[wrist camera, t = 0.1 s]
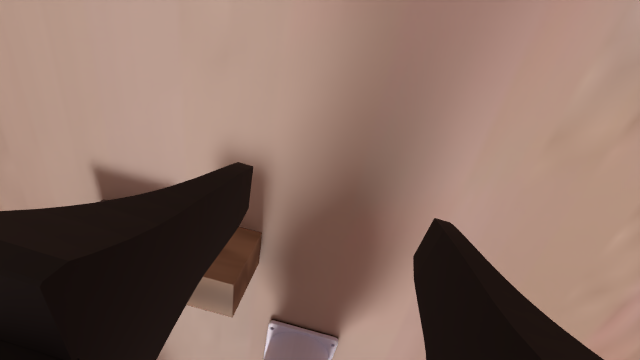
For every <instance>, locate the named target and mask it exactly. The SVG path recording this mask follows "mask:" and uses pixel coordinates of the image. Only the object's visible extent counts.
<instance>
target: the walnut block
mask: <svg viewBox="0 0 640 360" xmlns="http://www.w3.org/2000/svg"><path fill="white" fill-rule="evenodd" d="M261 235H262V233H260V232H256V231H252V230H248V229H245V228H241V227H238V229H237V230H236V232H235V233H234V234H233V236H232V237H231V239H230V240H229V241H228V243H227V244H226V245H225V247H224V248H223V250H222V251H221V252H220V254H219V255H218V256H217V258H216V259H215V261H214V262H213V263H212V265H211V266H210V267H209V269H208V270H207V272H206V273H205V274H204V276H203V278H202V279H201V281H200V282H199V284H198V285H197V287H196V289H195V290H194V292H193V294H192V296H191V297H190V299H189V301H188V302H187V304H186V305H189V306H192V307H196V308H200V309H203V310H207V311H210V312H214V313H218V314H221V315H225V316H228V317H233V315H234V313H235V311H236V309H237V307H238V305H239V303H240V301H241V299H242V297H243V295H244V292H245V290H246V288H247V286H248V284H249V282H250V280H251V278H252V276H253V274H254V272H255V270H256V268H257V266H258V264H259V255H260V245H261Z"/></svg>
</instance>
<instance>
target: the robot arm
mask: <svg viewBox="0 0 640 360" xmlns="http://www.w3.org/2000/svg"><path fill="white" fill-rule="evenodd" d="M252 173H253V166H250V165H246V164H243V163H239V162H238V163H234V164H231V165H229V166H226V167H223V168H221V169H218V170H216V171H213V172H210V173H208V174H205V175H203V176H200V177H197V178H194V179H191V180H188V181H185V182H182V183H179V184H176V185H173V186H170V187H167V188H163V189H160V190H156V191H152V192H148V193H144V194H139V195H135V196H130V197H125V198H119V199H113V200H108V201H102V202H96V203H89V204H82V205H74V206H65V207H55V208H44V209H31V210H13V211H0V360H156V359H157V357H158V355H159V354H160V352H161V350H162V348H163V346H164V344H165V342H166V340H167V338H168V337H169V335H170V333H171V331H172V329H173V327H174V326H175V324H176V322H177V320H178V318H179V317H180V315H181V313H182V311H183V309H184V308H185V306H186V304H187V302H188V301H189V299H190V297H191V296H192V294H193V292H194V290H195V289H196V287H197V285H198V284H199V282H200V281H201V279H202V278H203V276H204V274H205V273H206V272H207V270H208V269H209V267H210V266H211V265H212V263H213V262H214V261H215V259H216V258H217V256H218V255H219V254H220V252H221V251H222V250H223V248H224V247H225V245H226V244H227V243H228V241H229V240H230V239H231V237H232V236H233V234H234V233H235V232H236V230H237V229H238V227H239V225H240V223H241V221H242V220H243V218H244V216H245V214H246V212H247V210H248V207H249V198H250V190H251V181H252ZM413 259H414V283H415V289H416V295H417V301H418V307H419V313H420V318H421V324H422V330H423V335H424V342H425V350H426V360H604V359H602V358H601V357H599V356H598V355H597V354H595V353H594V352H592V351H591V350H590V349H588V348H587V347H586V346H584V345H583V344H582V343H580V342H579V341H578V340H577V339H575V338H574V337H573V336H571V335H570V334H569V333H567V332H566V331H565V330H563V329H562V328H561V327H560V326H558V325H557V324H556V323H555V322H553V321H552V320H551V319H550V318H549V317H547V316H546V315H545V314H544V313H543V312H542V311H540V310H539V309H538V308H537V307H536V306H535V305H533V304H532V303H531V302H530V301H529V300H528V299H526V298H525V297H524V296H523V295H522V294H521V293H520V292H519V291H518V290H517V289H516V288H515V287H514V286H512V285H511V284H510V283H509V282H508V281H507V280H506V279H505V278H504V277H503V276H502V275H501V274H500V273H499V272H498V271H497V270H496V269H495V268H494V267H493V266H492V265H491V264H490V263H489V262H488V261H487V260H486V259H485V257H484V256H483V255H482V254H481V253H480V252H479V251H478V250H477V249H476V248H475V247H474V246H473V245H472V244H471V243H470V242H469V240H468V239H467V238H466V237H465V236H464V235H463V234H462V233H461V232H460V231H459V230H458V229H457V228H456V227H455V226H454V225H453V224H451V223H450V222H446V221H443V220H439V219H436V218H434V220H433V222H432V224H431V225H430V227H429V229H428V231H427V233H426V235H425V236H424V238H423V240H422V242H421V244H420V245H419V247H418V249H417V251H416V253H415V254H414V256H413ZM337 345H338V339H337V338H336V337H332V336H329V335H325V334H322V333H318V332H314V331H311V330H307V329H303V328H300V327H296V326H293V325H289V324H285V323H282V322H278V321H274V320H271V321H270V322H269V325H268V331H267V338H266V345H265V352H264V358H263V360H332V358H333V355H334V352H335V350H336V347H337Z"/></svg>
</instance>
